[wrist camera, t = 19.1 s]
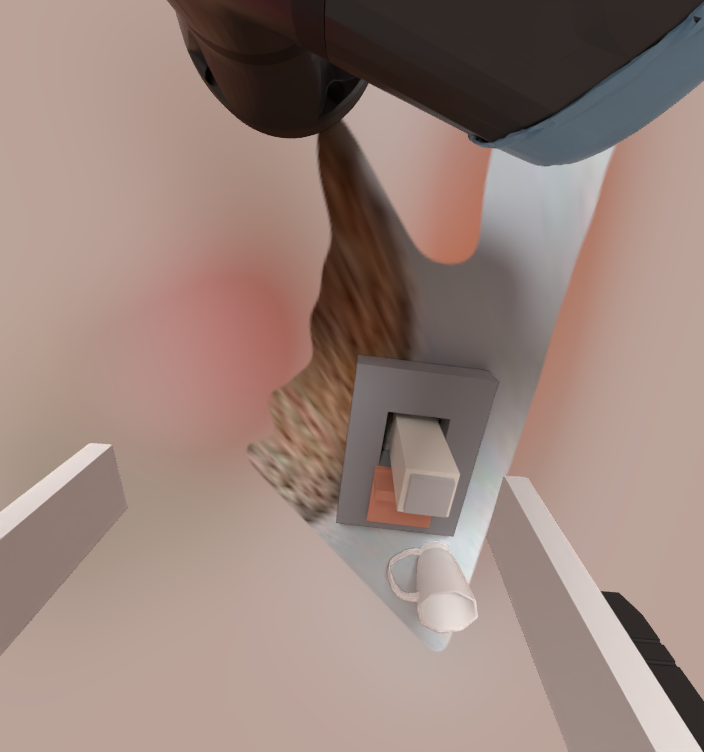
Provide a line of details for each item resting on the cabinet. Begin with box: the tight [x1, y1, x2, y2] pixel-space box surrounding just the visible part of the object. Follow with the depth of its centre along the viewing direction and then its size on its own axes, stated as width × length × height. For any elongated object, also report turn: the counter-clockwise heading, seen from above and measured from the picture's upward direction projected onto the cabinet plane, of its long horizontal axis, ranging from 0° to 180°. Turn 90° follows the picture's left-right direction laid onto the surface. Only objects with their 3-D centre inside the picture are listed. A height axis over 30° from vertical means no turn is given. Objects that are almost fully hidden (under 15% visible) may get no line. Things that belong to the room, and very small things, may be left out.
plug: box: [388, 412, 460, 518], centre depth 34 cm, size 4×4×12 cm
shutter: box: [366, 465, 432, 528], centre depth 38 cm, size 7×7×4 cm
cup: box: [387, 541, 478, 633], centre depth 43 cm, size 7×10×8 cm
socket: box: [336, 354, 499, 536], centre depth 39 cm, size 20×14×3 cm
